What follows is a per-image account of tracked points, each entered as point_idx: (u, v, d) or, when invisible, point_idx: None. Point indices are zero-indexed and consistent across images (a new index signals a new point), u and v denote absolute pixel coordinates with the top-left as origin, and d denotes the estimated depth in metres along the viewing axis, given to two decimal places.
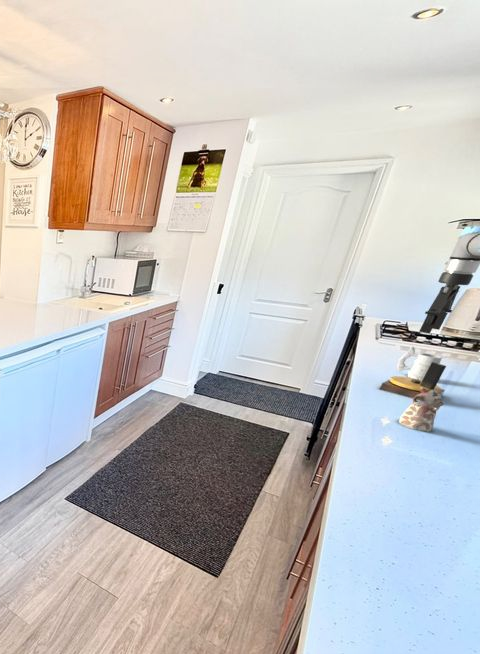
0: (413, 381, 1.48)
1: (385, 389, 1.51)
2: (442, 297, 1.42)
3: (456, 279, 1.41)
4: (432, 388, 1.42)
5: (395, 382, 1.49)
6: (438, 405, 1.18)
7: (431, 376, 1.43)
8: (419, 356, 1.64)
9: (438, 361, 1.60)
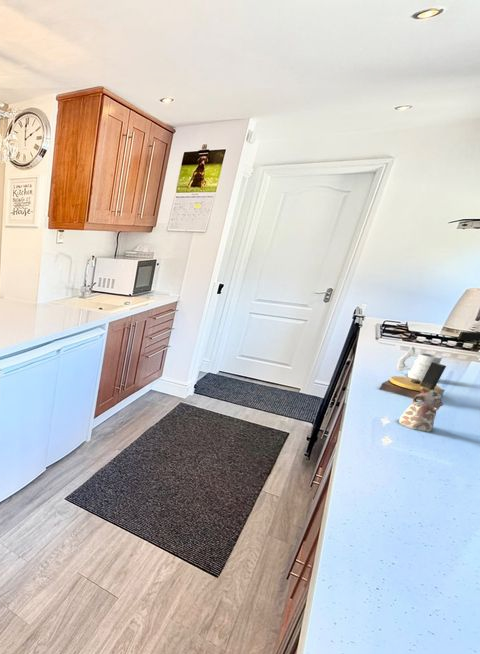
0: (413, 381, 1.48)
1: (385, 389, 1.51)
2: None
3: None
4: (432, 388, 1.42)
5: (395, 382, 1.49)
6: (438, 405, 1.18)
7: (431, 376, 1.43)
8: (419, 356, 1.64)
9: (438, 361, 1.60)
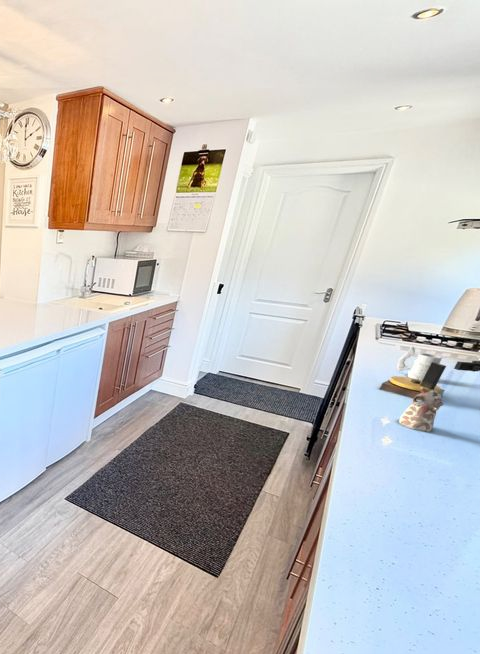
0: (413, 381, 1.48)
1: (385, 389, 1.51)
2: None
3: None
4: (432, 388, 1.42)
5: (395, 382, 1.49)
6: (438, 405, 1.18)
7: (431, 376, 1.43)
8: (419, 356, 1.64)
9: (438, 361, 1.60)
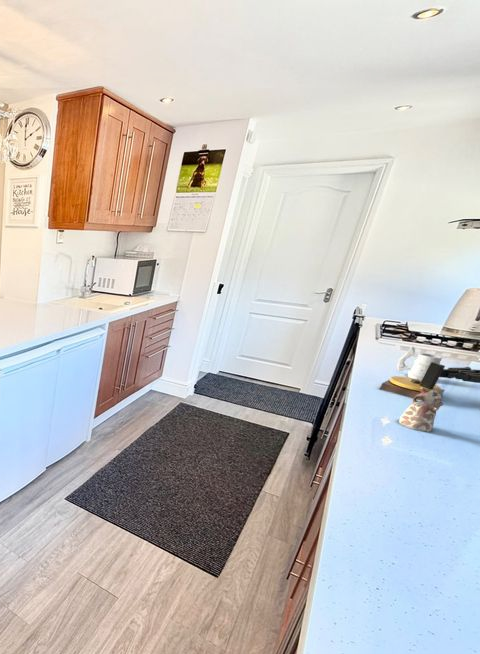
0: (413, 381, 1.48)
1: (385, 389, 1.51)
2: None
3: None
4: (431, 388, 1.43)
5: (394, 382, 1.50)
6: (438, 405, 1.18)
7: (430, 376, 1.43)
8: (419, 356, 1.64)
9: (438, 361, 1.60)
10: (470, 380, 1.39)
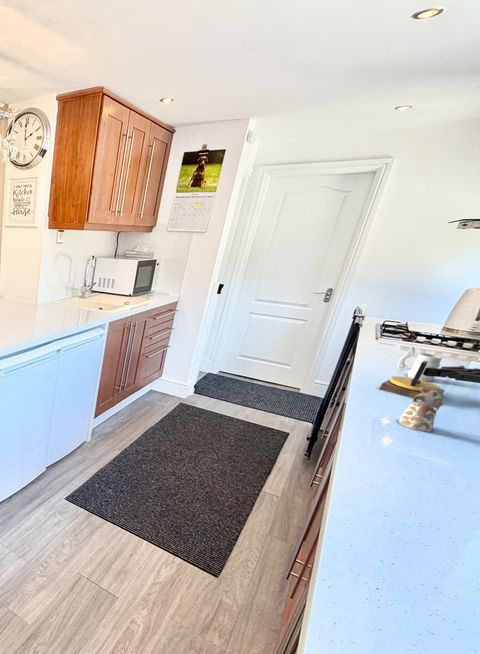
0: (411, 380, 1.49)
1: (385, 389, 1.51)
2: None
3: None
4: (412, 385, 1.45)
5: None
6: (438, 405, 1.18)
7: (416, 373, 1.45)
8: (419, 356, 1.64)
9: (438, 361, 1.60)
10: (463, 379, 1.40)
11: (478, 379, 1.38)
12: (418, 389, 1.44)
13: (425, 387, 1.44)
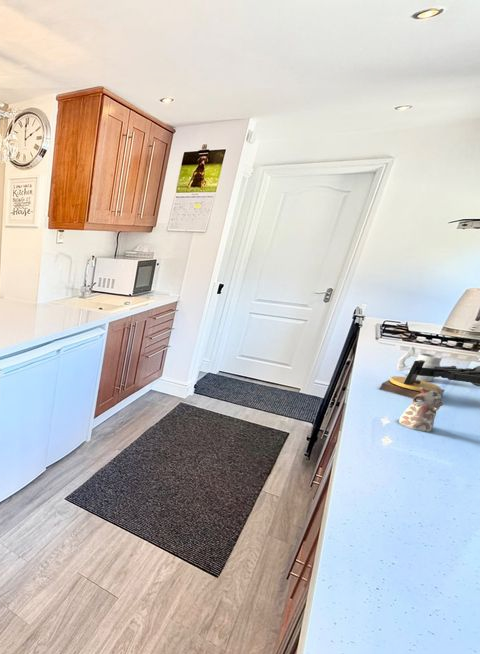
0: None
1: (385, 389, 1.51)
2: None
3: None
4: (405, 383, 1.46)
5: None
6: (438, 405, 1.18)
7: None
8: (419, 356, 1.64)
9: (438, 361, 1.60)
10: (455, 379, 1.40)
11: (471, 379, 1.38)
12: (411, 387, 1.45)
13: (420, 386, 1.45)
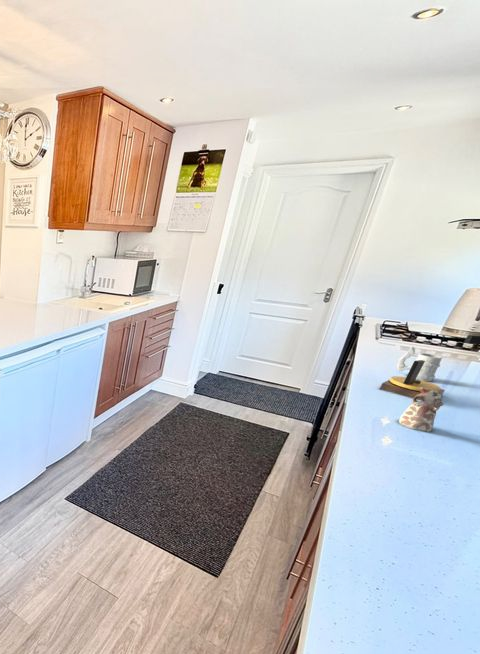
0: None
1: (385, 389, 1.51)
2: None
3: None
4: (405, 383, 1.46)
5: None
6: (438, 405, 1.18)
7: None
8: (419, 356, 1.64)
9: (438, 361, 1.60)
10: None
11: None
12: (410, 387, 1.45)
13: (420, 386, 1.45)
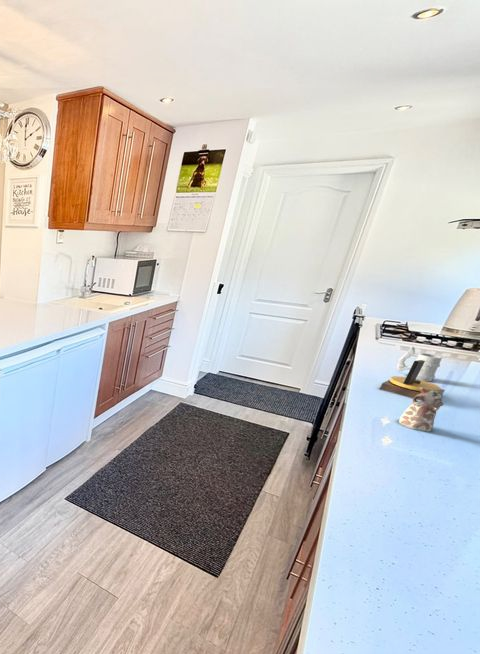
0: None
1: (385, 389, 1.51)
2: None
3: None
4: (405, 383, 1.46)
5: None
6: (438, 405, 1.18)
7: None
8: (419, 356, 1.64)
9: (438, 361, 1.60)
10: None
11: None
12: (410, 387, 1.45)
13: (420, 386, 1.45)
